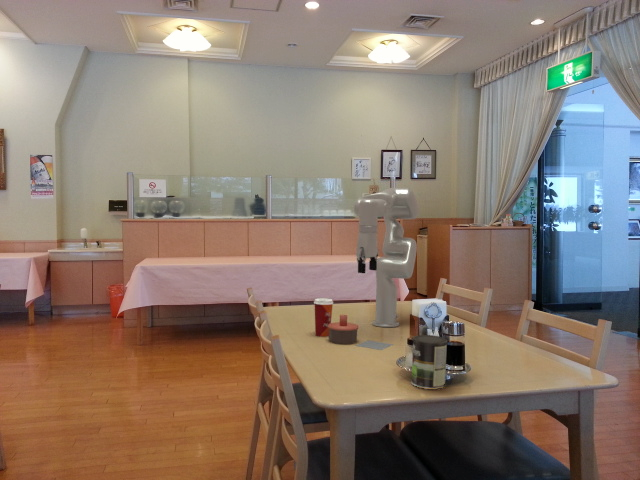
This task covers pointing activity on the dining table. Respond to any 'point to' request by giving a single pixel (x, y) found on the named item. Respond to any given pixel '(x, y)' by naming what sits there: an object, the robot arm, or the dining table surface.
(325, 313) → the coffee cup
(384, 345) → the mat
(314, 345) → the dining table surface
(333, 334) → the bowl
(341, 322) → the lid
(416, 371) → the coffee can
